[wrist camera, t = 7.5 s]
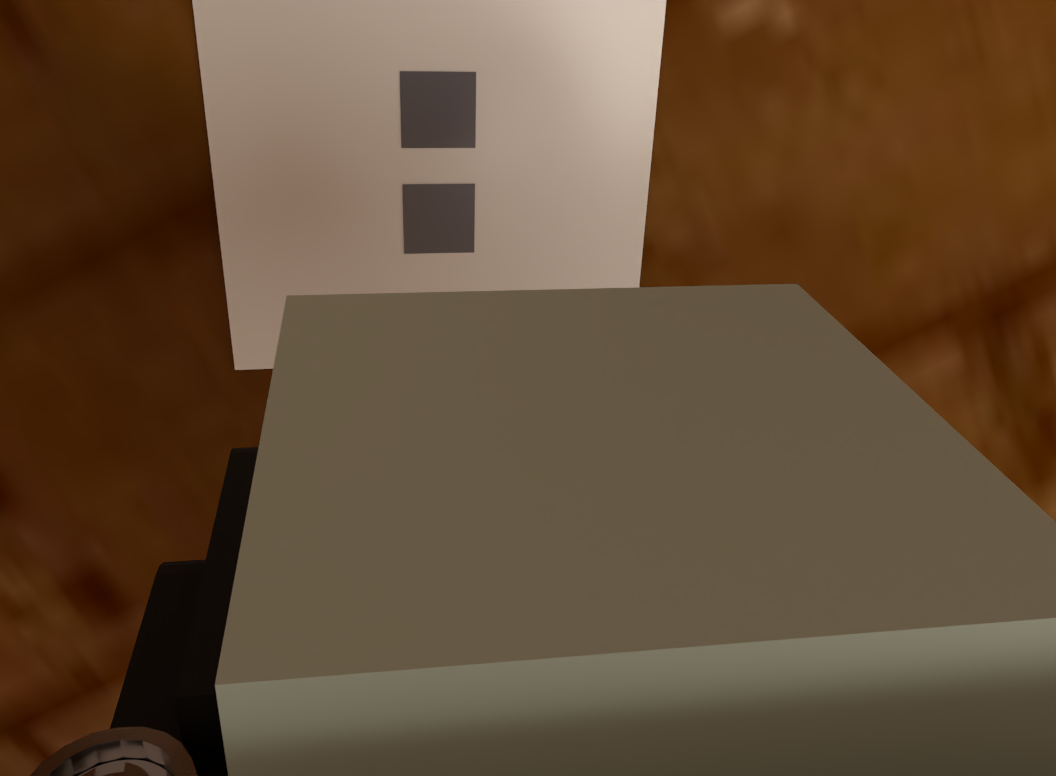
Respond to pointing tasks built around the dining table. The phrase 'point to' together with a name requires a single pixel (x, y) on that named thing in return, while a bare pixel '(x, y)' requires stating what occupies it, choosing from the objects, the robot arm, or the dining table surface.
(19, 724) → the dining table surface
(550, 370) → the sage block
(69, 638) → the dining table surface
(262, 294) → the tile
